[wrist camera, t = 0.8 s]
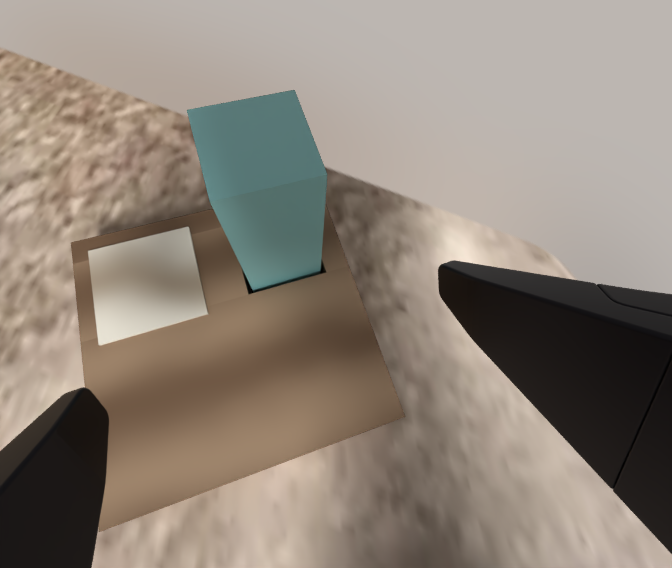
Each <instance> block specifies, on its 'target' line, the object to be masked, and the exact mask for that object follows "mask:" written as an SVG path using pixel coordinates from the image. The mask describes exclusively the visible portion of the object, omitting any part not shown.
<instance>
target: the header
mask: <svg viewBox="0 0 672 568" xmlns="http://www.w3.org/2000/svg"><path fill="white" fill-rule="evenodd" d="M71 248H72V258H73V269H74V279H75V289H76V300H77V310H78V320H79V331H80V341H81V351H82V362H83V372H84V382H85V388H88V389H90V390H91V391H92V393H93V394H94V395H95V396H96V398H97V399H98V400H99V401H100V403H101V404H102V405H103V406H104V407H105V409H106V410H107V412H108V415H109V435H108V454H107V473H106V484H105V491H104V497H103V503H102V509H101V515H100V520H99V526H98V527H99V532H101V531H103V530H106V529H108V528H111V527H114V526H116V525H119V524H122V523H124V522H127V521H130V520H132V519H135V518H138V517H140V516H143V515H146V514H148V513H151V512H154V511H156V510H159V509H162V508H164V507H167V506H170V505H172V504H175V503H177V502H180V501H183V500H185V499H188V498H191V497H193V496H196V495H199V494H201V493H204V492H207V491H209V490H212V489H215V488H217V487H220V486H223V485H225V484H228V483H231V482H233V481H236V480H238V479H241V478H244V477H246V476H249V475H252V474H254V473H257V472H260V471H262V470H265V469H268V468H270V467H273V466H276V465H278V464H281V463H284V462H286V461H289V460H292V459H294V458H297V457H300V456H302V455H305V454H307V453H310V452H313V451H315V450H318V449H321V448H323V447H326V446H329V445H331V444H334V443H337V442H339V441H342V440H345V439H347V438H350V437H353V436H355V435H358V434H361V433H363V432H366V431H368V430H371V429H374V428H376V427H379V426H382V425H384V424H387V423H390V422H392V421H395V420H398V419H400V418H403V417H405V415H404V412H403V409H402V407H401V404H400V401H399V399H398V396H397V393H396V391H395V388H394V385H393V383H392V380H391V377H390V375H389V372H388V369H387V366H386V364H385V361H384V358H383V356H382V353H381V350H380V348H379V345H378V342H377V340H376V337H375V334H374V332H373V329H372V326H371V324H370V321H369V318H368V316H367V313H366V310H365V308H364V305H363V302H362V300H361V297H360V294H359V292H358V289H357V286H356V284H355V281H354V278H353V276H352V273H351V270H350V268H349V265H348V262H347V260H346V257H345V254H344V252H343V249H342V246H341V243H340V241H339V238H338V235H337V233H336V230H335V227H334V225H333V222H332V219H331V217H330V214H329V211H328V209H327V206H326V203H325V215H324V229H323V243H322V257H321V271H320V274H319V275H315V276H312V277H308V278H305V279H301V280H298V281H294V282H291V283H287V284H284V285H280V286H277V287H273V288H270V289H266V290H263V291H259V292H256V293H252V292H251V289H250V285H249V281H248V279H247V277H246V275H245V273H244V271H243V269H242V267H241V265H240V263H239V261H238V259H237V257H236V255H235V253H234V251H233V249H232V246H231V244H230V242H229V240H228V238H227V236H226V234H225V232H224V230H223V228H222V226H221V224H220V222H219V220H218V218H217V216H216V214H215V211H214V209H210V210H206V211H201V212H197V213H193V214H189V215H185V216H180V217H176V218H172V219H168V220H164V221H159V222H155V223H151V224H147V225H143V226H138V227H134V228H130V229H126V230H122V231H117V232H113V233H109V234H105V235H101V236H96V237H92V238H88V239H84V240H80V241H75V242H71Z"/></svg>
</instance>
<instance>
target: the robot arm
mask: <svg viewBox="0 0 672 568" xmlns="http://www.w3.org/2000/svg"><path fill="white" fill-rule="evenodd" d="M438 280H439V294H440V296H441V298H442V300H443V301H444V302H445V304H446V305H447V306H448V308H449V309H450V310H451V312H452V313H453V315H454V316H455V317H456V319H457V320H458V321H459V323H460V324H461V325H462V327H463V328H464V329H465V331H466V332H467V333H468V335H469V336H470V337H471V338H472V339H473V341H474V342H475V343H476V344H477V345H478V346H479V347H480V348H481V349H482V350H483V352H484V353H485V354H486V355H487V356H488V357H489V358H490V359H491V360H492V361H493V362H494V363H495V364H496V365H497V367H498V368H499V369H500V370H501V371H502V372H503V373H504V374H505V375H506V376H507V377H508V378H509V379H510V381H511V382H512V383H513V384H514V385H515V386H516V387H517V388H518V389H519V390H520V391H521V392H522V393H523V394H524V396H525V397H526V398H527V399H528V400H529V401H530V402H531V403H532V404H533V405H534V406H535V407H536V408H537V409H538V411H539V412H540V413H541V414H542V415H543V416H544V417H545V418H546V419H547V420H548V421H549V422H550V423H551V425H552V426H553V427H554V428H555V429H556V430H557V431H558V432H559V433H560V434H561V435H562V436H563V437H564V438H565V440H566V441H567V442H568V443H569V444H570V445H571V446H572V447H573V448H574V449H575V450H576V451H577V452H578V454H579V455H580V456H581V457H582V458H583V459H584V460H585V461H586V462H587V463H588V464H589V465H590V466H591V467H592V469H593V470H594V471H595V472H596V473H597V474H598V475H599V476H600V477H601V478H602V479H603V480H604V481H605V482H606V484H607V485H608V486H609V487H610V488H612V489H613V491H614V493H615V494H616V495H617V496H618V497H619V498H620V499H621V500H622V501H623V502H624V503H625V504H626V505H627V506H628V508H629V509H630V510H631V511H632V512H633V513H634V514H635V515H636V516H637V517H638V518H639V519H640V520H641V521H642V523H643V524H644V525H645V526H646V527H647V528H648V529H649V530H650V531H651V532H652V533H653V534H654V535H655V537H656V538H657V539H658V540H659V541H660V542H661V543H662V544H663V545H664V546H665V547H666V548H667V549H668V550H669V552H670V553H671V554H672V294H665V293H657V292H649V291H642V290H635V289H629V288H622V287H615V286H609V285H603V284H597V285H596V284H595V283H590V282H584V281H578V280H572V279H565V278H559V277H553V276H547V275H541V274H534V273H528V272H522V271H516V270H510V269H504V268H497V267H491V266H485V265H479V264H473V263H466V262H460V261H450V262H447V263H444V264H441V265H440V266H439V269H438ZM108 435H109V415H108V412H107V410H106V409H105V407H104V406H103V405H102V404H101V403H100V401H99V400H98V399H97V398H96V396H95V395H94V394H93V393H92V391H91V390H90V389H88V388H84V387H83V388H80V389H77V390H74V391H71V392H68V393H66V394H64V395H62V396H61V397H60V398H59V399H58V400H57V401H56V402H55V403H53V404H52V405H51V406H50V407H49V408H48V409H47V410H46V411H45V412H43V413H42V414H41V415H40V416H39V417H38V418H37V419H36V420H35V421H33V422H32V423H31V424H30V425H29V426H28V427H27V428H26V429H24V430H23V431H22V432H21V433H20V434H19V435H18V436H17V437H16V438H14V439H13V440H12V441H11V442H10V443H9V444H8V445H7V446H6V447H4V448H3V449H2V450H1V451H0V568H91V567H92V561H93V555H94V550H95V544H96V538H97V532H98V526H99V520H100V515H101V509H102V503H103V497H104V491H105V484H106V473H107V454H108Z"/></svg>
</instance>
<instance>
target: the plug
mask: <svg viewBox="0 0 672 568" xmlns="http://www.w3.org/2000/svg"><path fill="white" fill-rule="evenodd" d="M187 113H188V117H189V121H190V125H191V129H192V133H193V137H194V141H195V145H196V149H197V153H198V157H199V161H200V165H201V169H202V173H203V177H204V181H205V185H206V189H207V193H208V197H209V201H210V203H211V205H212V207H213V209H214V211H215V214H216V216H217V218H218V220H219V222H220V224H221V226H222V228H223V230H224V232H225V234H226V236H227V238H228V240H229V242H230V244H231V246H232V249H233V251H234V253H235V255H236V257H237V259H238V261H239V263H240V265H241V267H242V269H243V271H244V273H245V275H246V277H247V279H248V281H249V283H250V286H251V288H252V290H253V292H254V293H256V292H259V291H263V290H266V289H270V288H273V287H277V286H280V285H284V284H287V283H291V282H294V281H298V280H301V279H305V278H308V277H312V276H315V275H319V274H320V271H321V257H322V243H323V229H324V215H325V201H326V186H327V172H326V170H325V167H324V164H323V162H322V159H321V157H320V154H319V152H318V149H317V146H316V144H315V142H314V139H313V136H312V134H311V131H310V128H309V126H308V124H307V121H306V118H305V115H304V113H303V111H302V108H301V105H300V103H299V100H298V97H297V95H296V92H295V90H291V91H286V92H280V93H275V94H270V95H264V96H259V97H254V98H249V99H244V100H238V101H232V102H228V103H221V104H217V105H211V106H205V107H200V108H195V109H190V110H187Z"/></svg>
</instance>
